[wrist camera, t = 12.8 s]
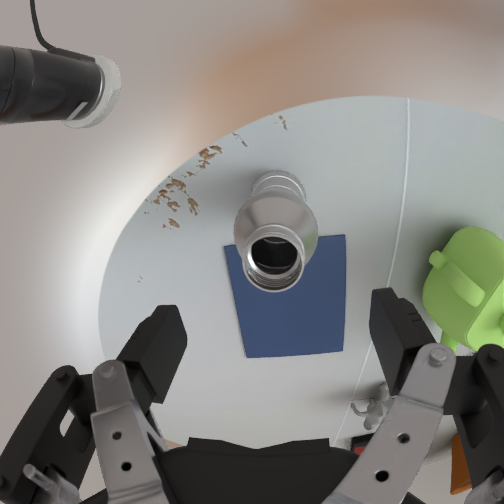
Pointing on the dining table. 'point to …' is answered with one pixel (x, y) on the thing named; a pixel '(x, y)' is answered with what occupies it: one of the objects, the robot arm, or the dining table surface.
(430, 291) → the teapot
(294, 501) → the robot arm
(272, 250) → the silver metal bottle
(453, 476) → the flower pot
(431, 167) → the dining table surface
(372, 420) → the gray elephant figurine
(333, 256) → the flat rectangular board
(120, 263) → the dining table surface
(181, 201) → the dining table surface
